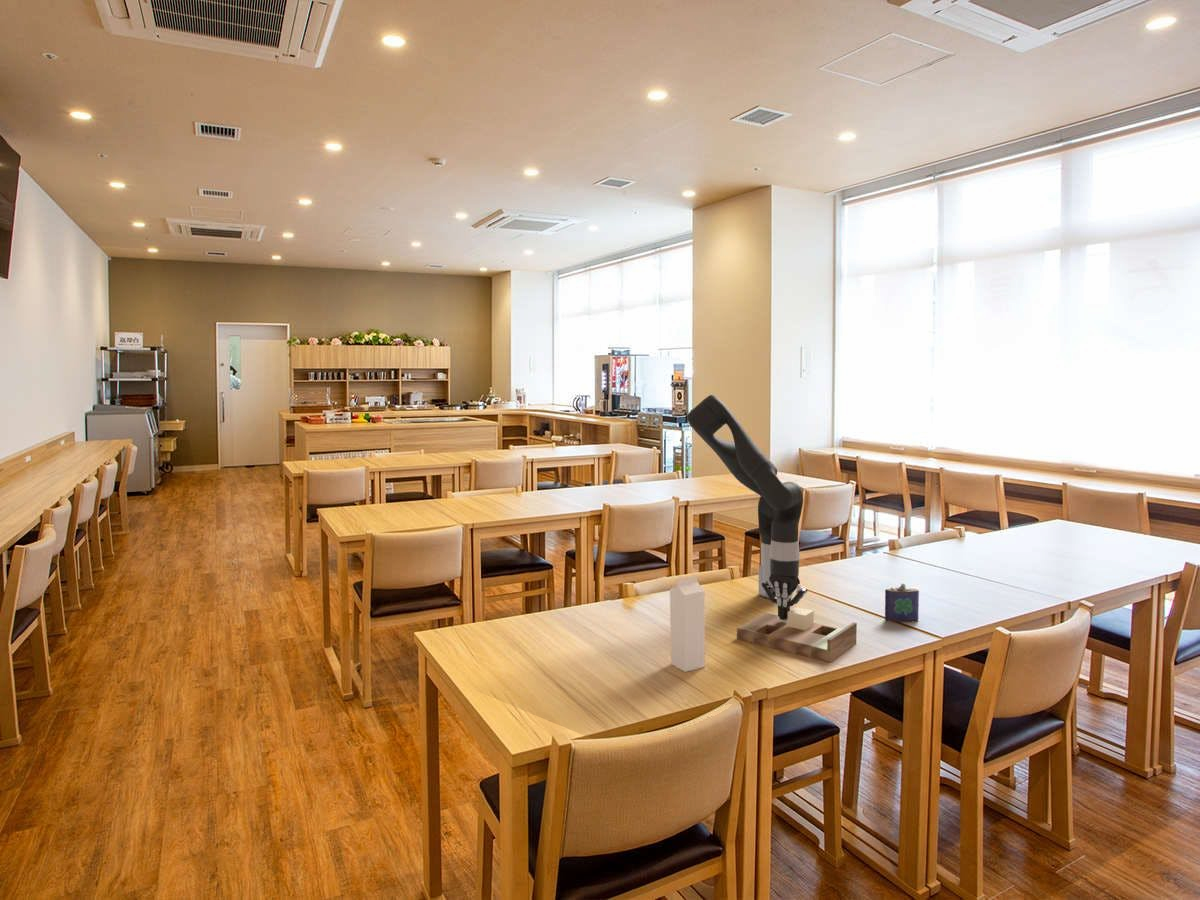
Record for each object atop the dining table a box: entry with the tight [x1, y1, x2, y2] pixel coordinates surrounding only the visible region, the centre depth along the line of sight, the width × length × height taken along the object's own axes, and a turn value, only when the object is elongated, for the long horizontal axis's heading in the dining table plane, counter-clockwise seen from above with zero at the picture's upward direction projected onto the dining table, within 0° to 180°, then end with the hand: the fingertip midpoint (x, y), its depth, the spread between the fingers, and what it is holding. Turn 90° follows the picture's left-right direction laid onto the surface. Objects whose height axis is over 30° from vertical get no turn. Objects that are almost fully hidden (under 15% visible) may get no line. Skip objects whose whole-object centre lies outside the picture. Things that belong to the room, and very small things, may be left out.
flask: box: [884, 583, 920, 623], centre depth 206 cm, size 9×3×11 cm, turn 88°
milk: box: [669, 575, 706, 673], centre depth 177 cm, size 6×6×22 cm
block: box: [788, 606, 815, 630], centre depth 196 cm, size 5×5×4 cm
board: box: [736, 612, 858, 663], centre depth 193 cm, size 26×16×6 cm, turn 49°
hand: (783, 619), depth 199 cm, fingers closed
